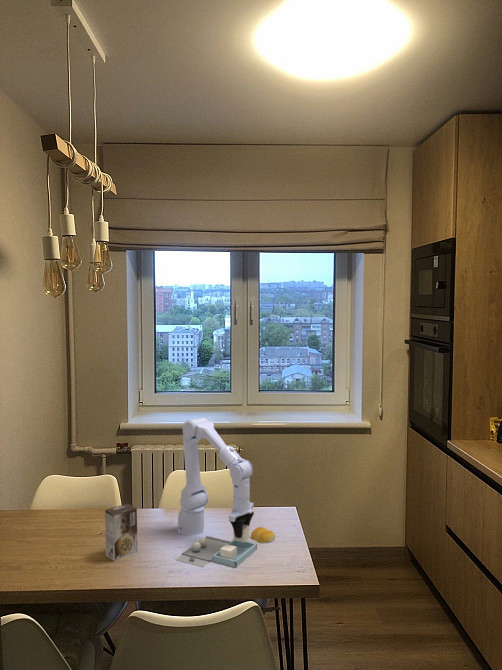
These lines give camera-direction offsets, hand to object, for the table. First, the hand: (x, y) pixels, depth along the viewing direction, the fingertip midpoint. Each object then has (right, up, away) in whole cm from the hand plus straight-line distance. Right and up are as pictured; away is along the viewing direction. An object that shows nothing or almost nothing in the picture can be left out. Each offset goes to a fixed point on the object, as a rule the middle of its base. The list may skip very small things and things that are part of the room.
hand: (241, 534), depth 181 cm
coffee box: (-41, -6, -2) cm, 42 cm away
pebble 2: (-14, -5, +3) cm, 15 cm away
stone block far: (0, -2, 0) cm, 2 cm away
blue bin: (-2, -6, -4) cm, 7 cm away
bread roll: (+8, -6, +11) cm, 14 cm away
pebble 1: (-16, -6, 0) cm, 17 cm away
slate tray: (-13, -6, -1) cm, 14 cm away
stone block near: (-4, -6, -8) cm, 11 cm away
